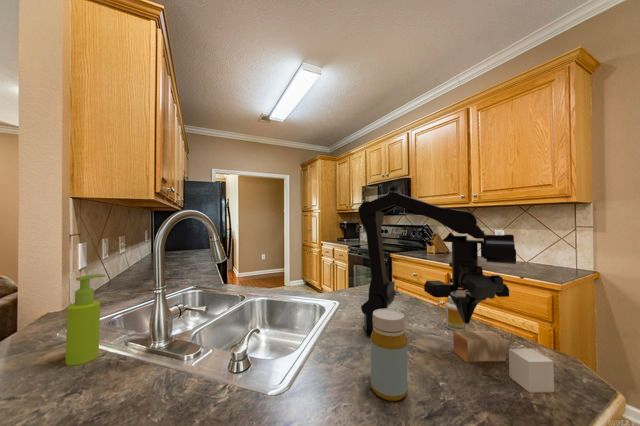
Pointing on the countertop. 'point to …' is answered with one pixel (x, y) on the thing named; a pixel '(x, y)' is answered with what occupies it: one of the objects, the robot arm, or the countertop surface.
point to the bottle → (389, 355)
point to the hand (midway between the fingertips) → (465, 322)
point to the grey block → (531, 370)
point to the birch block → (479, 346)
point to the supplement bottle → (453, 317)
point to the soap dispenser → (83, 324)
